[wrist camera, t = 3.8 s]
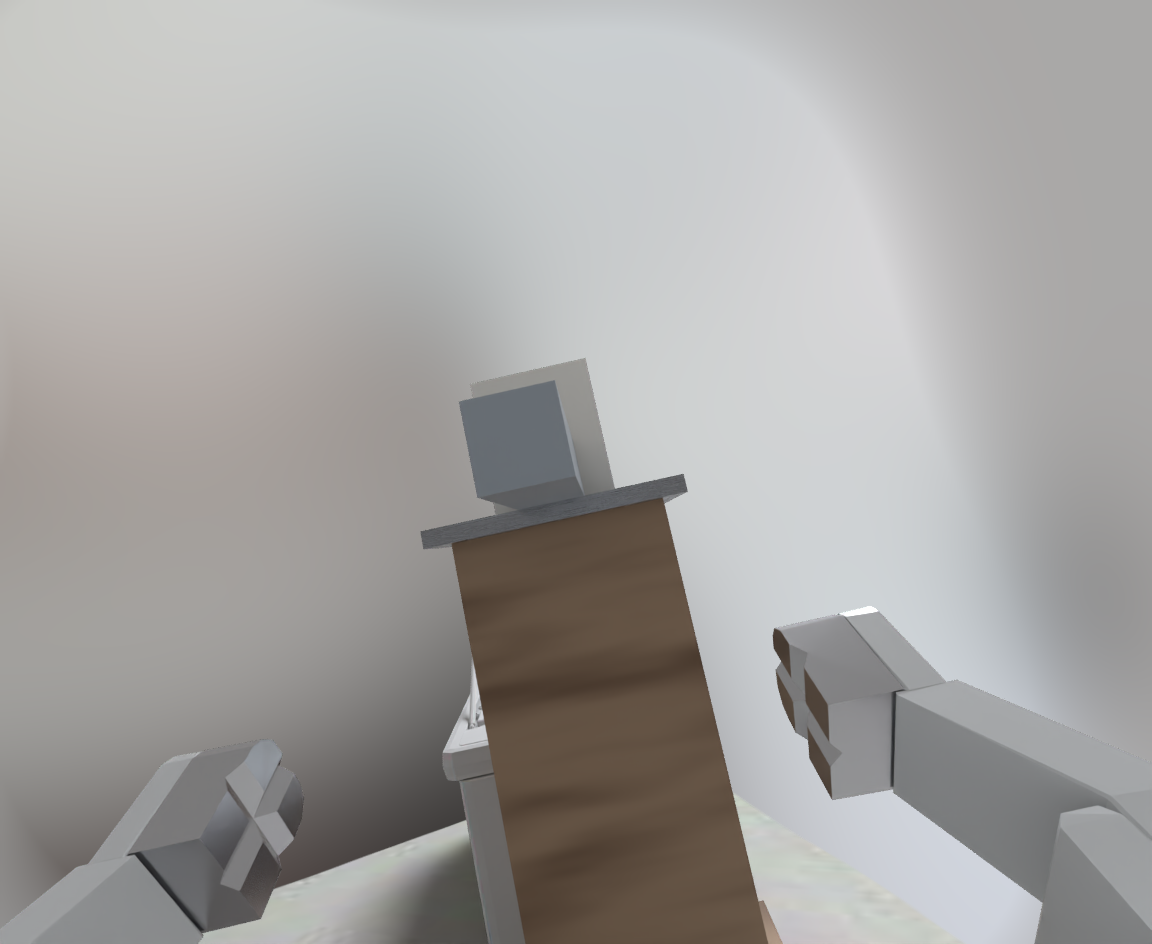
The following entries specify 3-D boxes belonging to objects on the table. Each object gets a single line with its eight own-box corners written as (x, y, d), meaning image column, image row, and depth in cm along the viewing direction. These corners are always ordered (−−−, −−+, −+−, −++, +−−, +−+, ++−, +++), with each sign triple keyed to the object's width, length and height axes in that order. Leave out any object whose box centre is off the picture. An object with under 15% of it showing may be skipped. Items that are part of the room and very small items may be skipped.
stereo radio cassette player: (613, 948, 32) (545, 615, 35) (477, 989, 31) (417, 644, 34) (584, 792, 53) (542, 590, 55) (501, 814, 52) (463, 608, 55)
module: (624, 465, 16) (575, 248, 17) (428, 508, 16) (389, 290, 17) (612, 501, 33) (588, 394, 34) (518, 522, 33) (496, 414, 34)
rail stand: (862, 1145, 20) (696, 470, 23) (523, 1209, 20) (405, 534, 24) (770, 930, 31) (666, 491, 34) (550, 974, 31) (467, 534, 34)
